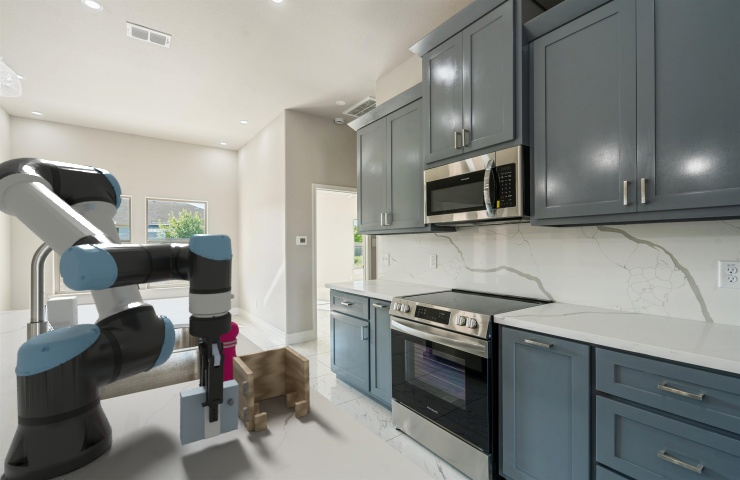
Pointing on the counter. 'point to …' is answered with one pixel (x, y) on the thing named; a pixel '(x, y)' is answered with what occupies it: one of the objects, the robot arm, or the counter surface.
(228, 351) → the pepper mill
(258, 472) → the counter surface
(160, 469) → the counter surface
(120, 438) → the counter surface
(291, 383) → the cabinet
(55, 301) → the supplement box
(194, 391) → the door
